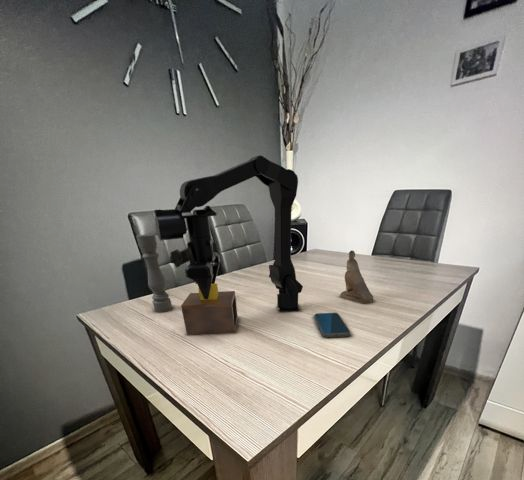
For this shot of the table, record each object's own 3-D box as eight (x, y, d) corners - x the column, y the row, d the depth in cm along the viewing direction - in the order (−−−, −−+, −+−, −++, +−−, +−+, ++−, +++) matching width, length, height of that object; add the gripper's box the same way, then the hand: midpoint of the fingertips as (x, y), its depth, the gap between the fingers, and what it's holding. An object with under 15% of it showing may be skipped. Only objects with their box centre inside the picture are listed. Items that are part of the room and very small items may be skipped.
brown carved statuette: (339, 303, 102) (334, 253, 96) (348, 299, 105) (345, 250, 99) (366, 305, 93) (362, 249, 86) (376, 301, 95) (373, 246, 89)
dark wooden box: (237, 317, 88) (235, 290, 84) (234, 332, 79) (231, 303, 74) (195, 319, 89) (190, 293, 84) (187, 334, 79) (180, 305, 75)
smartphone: (337, 315, 86) (337, 312, 86) (351, 336, 73) (351, 333, 72) (313, 316, 86) (313, 313, 86) (322, 337, 73) (323, 334, 73)
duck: (218, 295, 81) (215, 274, 78) (216, 299, 78) (214, 278, 75) (199, 296, 81) (196, 275, 78) (197, 300, 78) (193, 279, 75)
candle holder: (162, 313, 95) (143, 236, 83) (151, 310, 98) (131, 236, 86) (176, 307, 100) (159, 234, 88) (164, 305, 103) (147, 233, 91)
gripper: (179, 233, 80) (188, 286, 87) (157, 243, 63) (172, 307, 71) (217, 231, 79) (223, 284, 87) (205, 240, 63) (214, 305, 71)
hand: (208, 294), depth 79 cm, fingers open, 8 cm apart
